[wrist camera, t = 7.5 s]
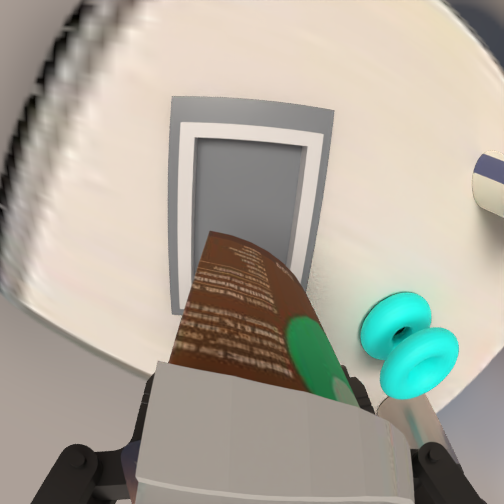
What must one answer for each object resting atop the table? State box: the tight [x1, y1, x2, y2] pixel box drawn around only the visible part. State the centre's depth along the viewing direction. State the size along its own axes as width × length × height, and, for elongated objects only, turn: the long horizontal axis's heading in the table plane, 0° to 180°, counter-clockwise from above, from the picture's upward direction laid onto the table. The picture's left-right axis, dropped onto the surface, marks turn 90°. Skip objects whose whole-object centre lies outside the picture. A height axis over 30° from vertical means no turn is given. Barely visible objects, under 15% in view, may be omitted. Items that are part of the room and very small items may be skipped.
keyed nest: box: [168, 96, 334, 315], centre depth 27 cm, size 22×14×3 cm, turn 175°
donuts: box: [361, 292, 459, 400], centre depth 30 cm, size 10×10×10 cm
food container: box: [135, 231, 415, 504], centre depth 9 cm, size 12×6×10 cm, turn 170°
